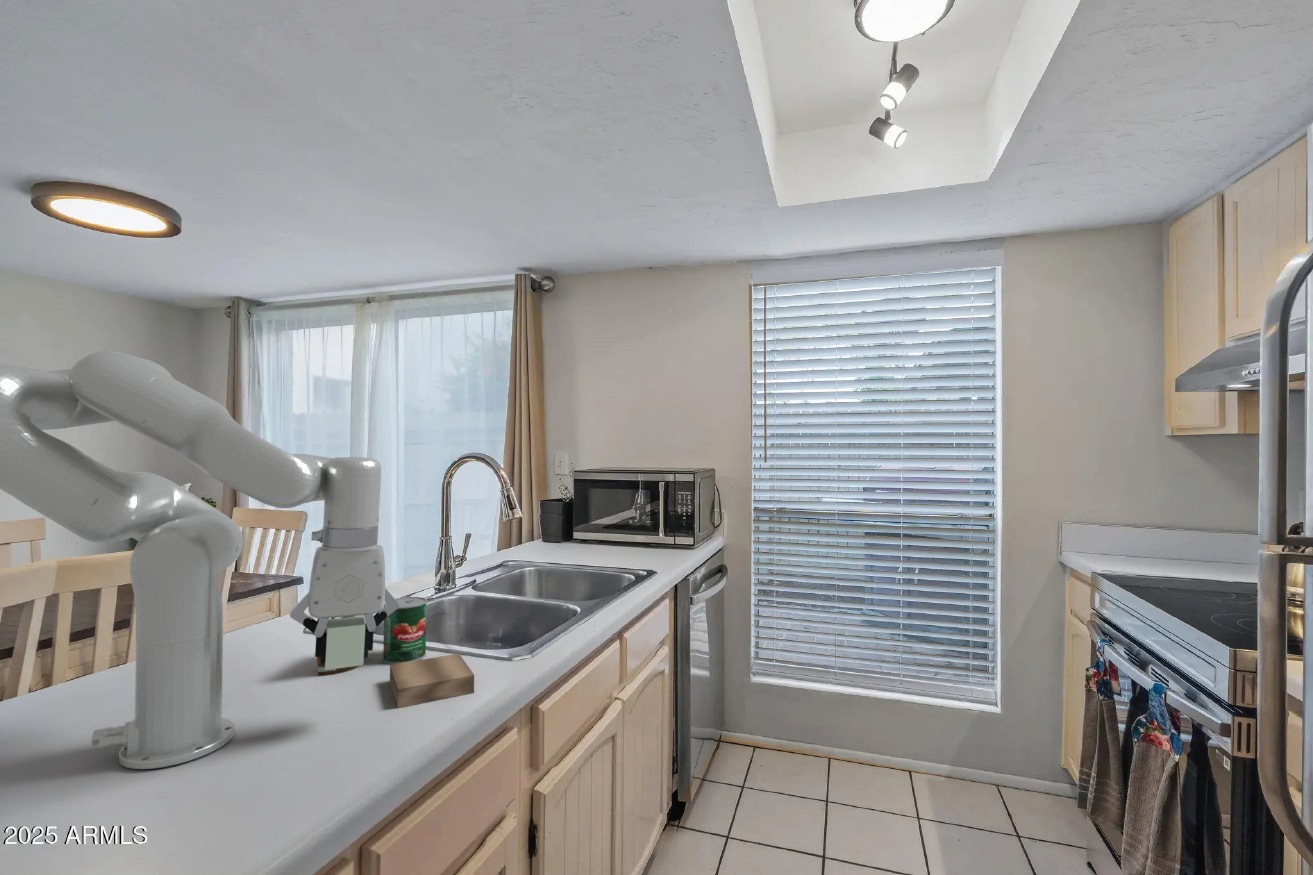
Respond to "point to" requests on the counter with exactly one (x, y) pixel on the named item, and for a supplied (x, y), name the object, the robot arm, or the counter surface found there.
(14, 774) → the counter surface
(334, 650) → the sage block
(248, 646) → the counter surface
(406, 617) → the canned tomato
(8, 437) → the robot arm
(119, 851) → the counter surface
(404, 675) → the walnut base
